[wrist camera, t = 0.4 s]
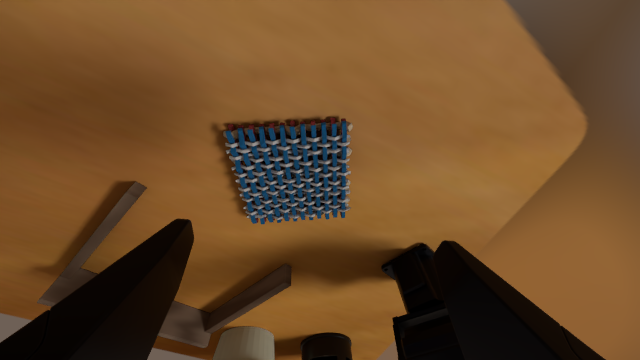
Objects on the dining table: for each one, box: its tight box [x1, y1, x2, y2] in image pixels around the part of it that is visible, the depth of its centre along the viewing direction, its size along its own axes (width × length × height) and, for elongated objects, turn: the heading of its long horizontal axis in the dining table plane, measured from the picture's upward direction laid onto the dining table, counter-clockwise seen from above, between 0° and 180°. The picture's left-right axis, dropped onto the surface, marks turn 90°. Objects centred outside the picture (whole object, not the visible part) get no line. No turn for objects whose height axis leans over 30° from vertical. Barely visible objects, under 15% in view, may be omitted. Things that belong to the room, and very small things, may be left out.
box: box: [37, 182, 292, 348], centre depth 28 cm, size 19×18×4 cm
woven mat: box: [223, 118, 353, 224], centre depth 22 cm, size 10×11×2 cm
